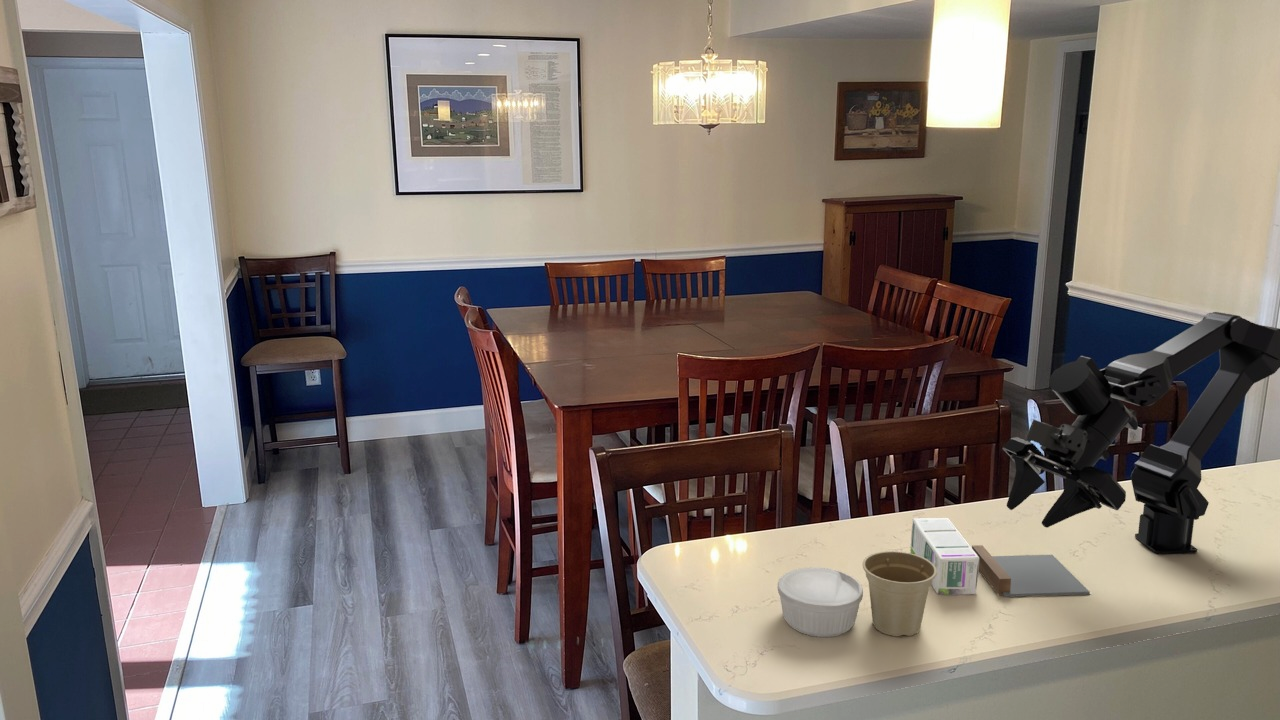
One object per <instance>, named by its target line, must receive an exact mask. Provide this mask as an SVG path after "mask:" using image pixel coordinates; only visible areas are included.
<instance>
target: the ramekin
mask: <svg viewBox="0 0 1280 720" xmlns="http://www.w3.org/2000/svg"><path fill="white" fill-rule="evenodd" d="M777 592H778V595H779V599H780V605H781V609H782V615H783V618H784V620H785V622H787V624H788V625H789V626H790V627H791V628H792V629H793V628H794V630H795V631H796V632H798V631H799V633H802V634H803V633H804V635H806V634H807V636H810V637H816V636H817V638H831V637H836V635H837V636H840V635H843V634H845V633H847V632H849V631H850V629H852V628H853V627H854V626H855V624H856V621H857V616H858V613H859V609H860V604H861V602H862V600H863V596H864V588H863V586H862V584H861V583H860V582H859V581H858V580H857V579H856V578H855V577H853V576H851V575H850V574H848V573H846V572H843V571H841V570H840V571H839V570H837V569H832V568H828V567H827V568H826V567H817V566H816V567H814V566H813V567H812V566H811V567H810V566H809V567H802V568H797V569H792V570H790V571H788V572H786V573H784V574H783V575H782V576H781V577H779V579H778V582H777ZM842 633H843V634H842ZM830 636H831V637H830Z"/></svg>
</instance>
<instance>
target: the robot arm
mask: <svg viewBox="0 0 1280 720" xmlns="http://www.w3.org/2000/svg"><path fill="white" fill-rule="evenodd" d="M1218 351H1219V354H1218V355H1219V368H1218V370H1217V371H1216V373H1215V374H1214V375H1213V377H1212V379H1210V381H1209V382H1208V384H1207V386H1206V387H1205V389H1204V390H1203V392H1202V393H1200V396H1199V397H1198V399H1197V400H1196V402H1195V403H1194V405H1193V406H1192V407H1191V409H1190V410H1189V412H1188V413H1187V415H1186V416H1185V418H1184V419H1183V420H1182V422H1181V424H1180V425H1179V426H1178V428H1177V429H1176V430H1175V432H1174V434H1173V435H1172V437H1171V438H1170V439H1169V441H1168V442H1166V443H1164V444H1163V445H1160V446H1157V445H1154V444H1149V445H1147V447H1145V448H1144V451H1143V453H1142V454H1141V456H1140V458H1138V460H1137V461H1135V462H1134V463H1133V466H1135V467H1134V469H1133V470H1132V472H1131V474H1130V480H1131V485H1132V490H1133V495H1134V499H1135V501H1136V502H1138V503H1142V504H1143V508H1142V509H1143V510H1142V514H1141V513H1140V515H1139V521H1138V522H1139V523H1138V530H1137V531H1138V533H1135V534H1134V538H1135V539H1137V540H1138V541H1139V542H1140V543H1142V544H1143V545H1144V546H1146V547H1147V548H1148V549H1149V550H1150V551H1152V552H1153V553H1155V554H1190V553H1194V554H1195V553H1197V552H1198V548H1197V547H1195V546H1194V545H1192V540H1193V539H1192V538H1193V533H1194V526H1195V525H1194V523H1195V520H1196V521H1197V520H1199V519H1200V517H1202V516H1205V514H1206V511H1207V509H1208V506H1209V501H1208V500H1207V499H1206V497H1205V496H1204V494H1203V493H1202V492H1201V491H1200V490H1199V489H1198V487H1199V486H1200V483H1201V481H1202V464H1201V463H1202V462H1201V461H1202V459H1203V458H1204V456H1205V455H1206V453H1207V452H1208V450H1209V449H1210V448H1211V446H1212V445H1213V443H1214V442H1215V441H1216V440H1217V437H1218V436H1219V435H1220V433H1221V431H1223V428H1224V427H1225V426H1226V424H1227V423H1228V421H1229V420H1230V418H1232V417H1233V414H1234V413H1235V411H1236V410H1237V408H1238V407H1239V405H1241V402H1243V400H1244V398H1245V397H1246V395H1247V394H1248V392H1249V391H1250V390H1251V388H1252V387H1253V385H1254V384H1256V383H1258V382H1260V381H1262V380H1264V379H1266V378H1268V377H1270V376H1272V375H1274V374H1275V373H1276V372H1277V371H1278V370H1279V369H1280V328H1279V327H1274V326H1273V327H1272V326H1268V325H1261V324H1258V323H1255V322H1252V321H1250V320H1247V319H1246V318H1244V317H1242V316H1240V315H1238V314H1237V315H1236V314H1233V313H1232V314H1231V313H1226V312H1220V311H1219V312H1218V311H1213V312H1209V313H1206V315H1204V316H1203V318H1202V320H1200V321H1199V322H1197V323H1195V324H1194V325H1192V326H1190V327H1189V328H1187V329H1185V330H1184V331H1182V332H1181V333H1179V334H1178V335H1175V336H1173V337H1172V338H1171V339H1169V340H1167V341H1165V342H1164V343H1162V344H1160V345H1159V346H1157V347H1155V348H1154V349H1152V350H1150V351H1146V352H1143V353H1135V354H1129V355H1126V356H1123V357H1121V358H1119V359H1116V360H1114V361H1112V362H1110V363H1109V364H1108V365H1107V366H1106V367H1103V368H1101V369H1099V367H1098V364H1097V363H1096V362H1095V360H1094V359H1093V358H1092V357H1088V356H1084V355H1080V356H1078V358H1077V360H1075V361H1071V362H1070V361H1069V362H1067V363H1065V364H1062V365H1061V366H1060V367H1059V368H1055V370H1053V372H1052V373H1051V375H1050V376H1049V380H1048V381H1049V382H1048V384H1049V388H1050V389H1051V390H1052V392H1054V393H1055V395H1056V397H1058V398H1059V399H1060V401H1061V402H1062V403H1063V404H1064V406H1066V408H1067V409H1068V410H1069V412H1071V414H1074V415H1076V416H1077V418H1076V419H1075V420H1074V421H1073V423H1072V424H1068V423H1065V422H1064V423H1063V424H1061V425H1060V426H1059V427H1056V426H1053V425H1052V424H1051V425H1050V424H1048V423H1045V422H1042V421H1039V420H1038V419H1037V420H1036V419H1032V421H1031V424H1030V427H1029V428H1028V431H1027V433H1026V435H1025V439H1022V438H1020V437H1017V436H1016V437H1015V436H1014V437H1011V438H1009V439H1008V440H1007V442H1006V443H1005V444H1004V446H1003V447H1002V450H1003V451H1004V452H1005V453H1006V454H1007V455H1008V456H1009V458H1010V459H1011V461H1012V462H1014V467H1015V475H1014V479H1013V484H1012V486H1011V489H1010V493H1009V495H1008V499H1007V503H1006V508H1007V509H1008V510H1010V511H1013V510H1014V509H1016V508H1017V507H1019V506H1020V505H1021V504H1022V503H1023V502H1024V501H1026V500H1027V498H1029V497H1030V496H1031V495H1032V494H1033V493H1035V492H1036V491H1037V490H1038V489H1039V488H1040V487H1042V486H1043V484H1045V480H1044V479H1043V478H1042V476H1040V475H1042V474H1044V473H1045V472H1048V473H1051V474H1053V475H1055V476H1058V477H1060V478H1063V479H1064V480H1065V481H1064V487H1063V491H1062V492H1061V494H1060V495H1059V497H1058V498H1057V499H1056V501H1055V502H1054V504H1052V506H1051V507H1050V508H1049V510H1048V511H1047V513H1046V514H1045V516H1044V517H1043V519H1042V521H1041V525H1042V526H1043V527H1044V528H1046V529H1047V528H1049V527H1052V526H1054V525H1056V524H1058V523H1060V522H1064V521H1065V520H1067V519H1069V518H1071V517H1074V516H1076V515H1079V514H1082V513H1085V512H1087V511H1089V510H1090V511H1091V510H1092V509H1095V508H1096V509H1098V510H1100V509H1101V508H1102V507H1103V506H1105V507H1108V508H1110V509H1113V510H1115V511H1119V509H1121V507H1122V506H1123V504H1124V503H1125V502H1126V497H1127V494H1126V490H1125V489H1124V488H1123V487H1122V485H1121V484H1120V483H1119V482H1118V481H1117V480H1116V479H1115V477H1114V476H1113V475H1112V474H1111V473H1109V472H1107V471H1104V470H1102V469H1099V468H1096V467H1094V466H1095V465H1096V463H1098V461H1099V460H1100V459H1101V460H1104V461H1107V460H1108V459H1109V458H1110V456H1111V455H1110V453H1109V452H1108V448H1109V447H1110V446H1111V445H1112V443H1113V442H1114V441H1115V440H1116V438H1118V435H1120V433H1121V432H1122V431H1123V429H1124V428H1128V429H1130V430H1133V431H1136V430H1138V428H1139V426H1138V425H1139V424H1138V423H1139V422H1138V420H1137V411H1135V410H1133V409H1130V408H1127V407H1126V405H1125V404H1124V403H1123V402H1122V401H1124V402H1127V403H1129V404H1133V405H1136V406H1139V407H1144V408H1145V407H1146V408H1147V407H1150V406H1152V405H1153V404H1155V403H1157V401H1159V400H1160V399H1161V398H1162V397H1163V396H1164V395H1165V394H1167V393H1168V392H1169V391H1170V389H1171V386H1172V382H1173V380H1174V379H1175V378H1176V377H1178V376H1179V375H1180V374H1182V373H1184V372H1186V371H1187V370H1189V369H1190V368H1192V367H1193V366H1196V365H1197V364H1199V363H1200V362H1202V361H1203V360H1205V359H1206V358H1208V357H1210V356H1212V355H1213V354H1215V353H1216V352H1218ZM1032 441H1033V442H1032ZM1035 443H1036V444H1039V445H1040V448H1038V447H1037V446H1036V445H1035ZM1041 451H1043V453H1042V452H1041ZM1044 453H1046V454H1047V456H1046V455H1044Z"/></svg>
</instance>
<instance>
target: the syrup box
mask: <svg viewBox="0 0 1280 720" xmlns="http://www.w3.org/2000/svg"><path fill="white" fill-rule="evenodd" d="M911 524H912V525H911V534H910V549H909V550H910V553H911V554H915V555H918V556H921V557H923V558H926V559H927V560H929V561H930V562H932V563H933V564H934V565H935V567H936V569H937V574H936V577H935V578H934V579H933V580H932V584H931V587H932V588H933V590H934V591H935V593H936V594H937V595H953V596H954V595H955V596H958V595H959V596H960V595H961V596H962V595H965V596H966V595H977V586H978V579H979V573H980V571H979V557H978V555H977V554H976V553H975V552H974V550H973V549H972V546H971V545H970V544H969V543H968V541H967V540H966V539H965V538H964V536H963V535H962V534H961V532H960V531H959V529H957V528H956V526H955V525H954V523H953V522H952V521H951V520H950V518H948V517H925V518H924V517H922V518H920V517H918V518H917V517H916V518H915V517H913V518H912V523H911Z"/></svg>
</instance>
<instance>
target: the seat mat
mask: <svg viewBox="0 0 1280 720" xmlns="http://www.w3.org/2000/svg"><path fill="white" fill-rule="evenodd" d="M991 556H992V555H991ZM992 557H993V558H994V559H995V560H996V562H997V563H998V564H999V565H1000V566H1001V567H1002V569H1003V570H1004V571H1005V572H1006V573H1007V574H1008V576H1009V577H1010V578H1011V587H1010V592H1003V595H1002V596H1003V597H1006V598H1009V597H1040V596H1043V597H1044V596H1047V597H1048V596H1076V595H1077V596H1078V595H1081V596H1082V595H1090V593H1091V591H1090V590H1089V589H1088V588H1087V587H1086V586H1085V585H1084V584H1083V583H1081V581H1079V579H1078V578H1076V577H1075V575H1074V574H1073V573H1072V572H1070V571H1069V569H1068V568H1067V567H1065V566H1064V564H1062V563H1061V561H1060V560H1059V559H1057V557H1055V556H1054V555H1053V554H1030V555H1029V554H1023V555H1022V554H1021V555H996V556H995V555H993V556H992Z"/></svg>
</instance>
